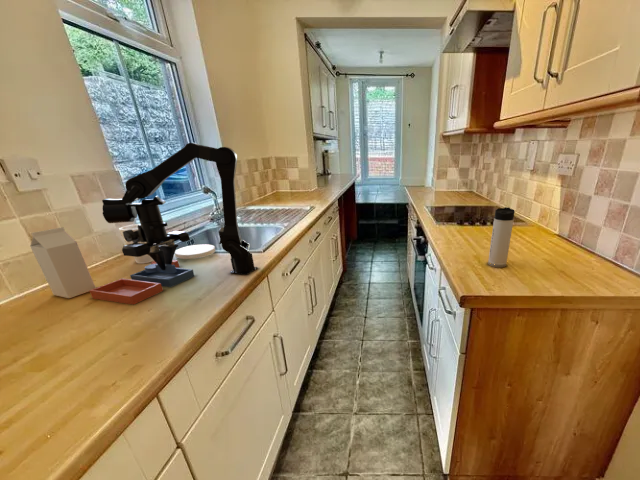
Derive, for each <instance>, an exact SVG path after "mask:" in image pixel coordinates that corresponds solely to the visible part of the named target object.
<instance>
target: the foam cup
mask: <svg viewBox="0 0 640 480" xmlns="http://www.w3.org/2000/svg"><path fill="white" fill-rule="evenodd" d="M138 225H140V223H137V224H129V225H124V226H121V227H119V228H118V230H119V233H120V236H121V237H123V240H124V242H125V245H128V244H132V243H133V241H130V242H127V241H126V240H125V238H124V235H123V232H124V231H127V230H132V231H133V232H134V231H138ZM138 243H143V244H145V243H147V242H138ZM153 245H154V244H153ZM132 257H133V259H134V261H135V263H136V264H148V263H151V262H153V261H154V260H153V259H152V258H151V257H150V256H149V255H144V256H140V257H134V256H132Z"/></svg>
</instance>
